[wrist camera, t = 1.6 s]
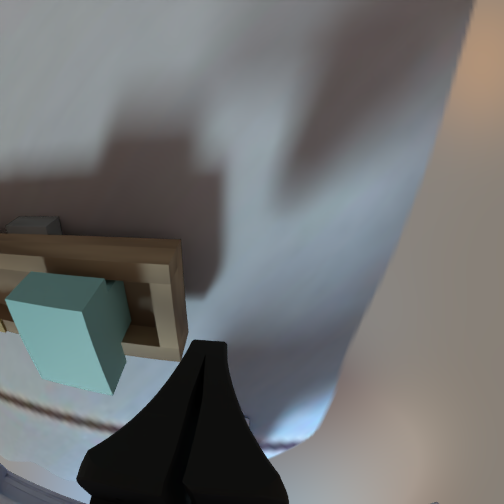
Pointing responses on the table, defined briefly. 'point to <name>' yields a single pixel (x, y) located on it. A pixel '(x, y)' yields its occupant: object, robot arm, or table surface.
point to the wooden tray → (111, 268)
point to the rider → (73, 328)
